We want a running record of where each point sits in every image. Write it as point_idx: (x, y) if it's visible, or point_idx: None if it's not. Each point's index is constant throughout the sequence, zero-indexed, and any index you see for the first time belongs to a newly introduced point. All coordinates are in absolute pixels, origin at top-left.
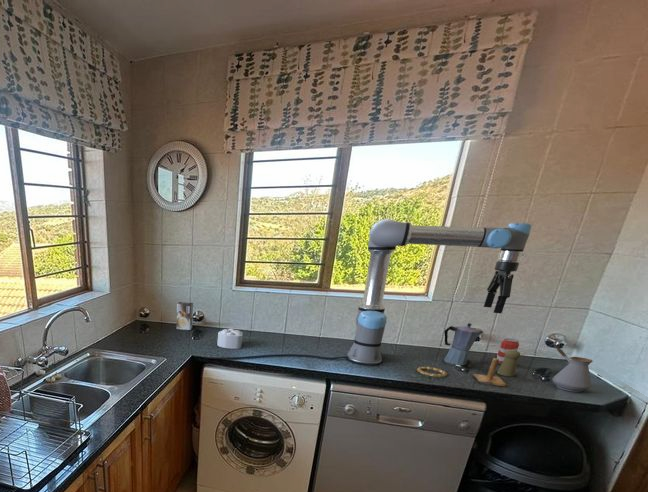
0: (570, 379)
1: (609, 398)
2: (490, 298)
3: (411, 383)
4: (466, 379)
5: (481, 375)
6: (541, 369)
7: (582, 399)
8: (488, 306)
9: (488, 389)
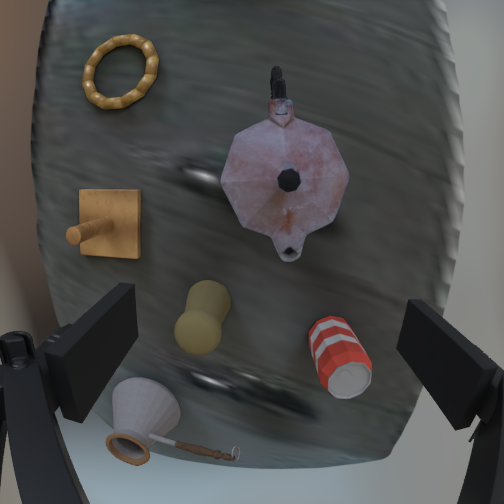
0: (114, 399)
1: None
2: (440, 368)
3: (41, 33)
4: (103, 162)
5: (128, 209)
6: (300, 406)
7: None
8: (403, 332)
9: (48, 200)
